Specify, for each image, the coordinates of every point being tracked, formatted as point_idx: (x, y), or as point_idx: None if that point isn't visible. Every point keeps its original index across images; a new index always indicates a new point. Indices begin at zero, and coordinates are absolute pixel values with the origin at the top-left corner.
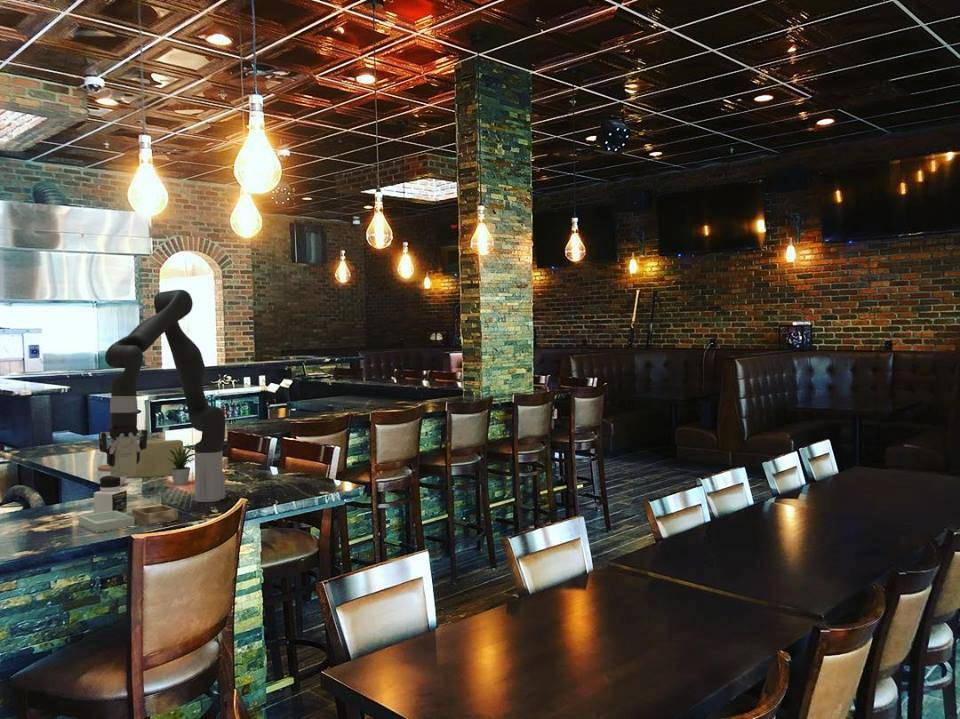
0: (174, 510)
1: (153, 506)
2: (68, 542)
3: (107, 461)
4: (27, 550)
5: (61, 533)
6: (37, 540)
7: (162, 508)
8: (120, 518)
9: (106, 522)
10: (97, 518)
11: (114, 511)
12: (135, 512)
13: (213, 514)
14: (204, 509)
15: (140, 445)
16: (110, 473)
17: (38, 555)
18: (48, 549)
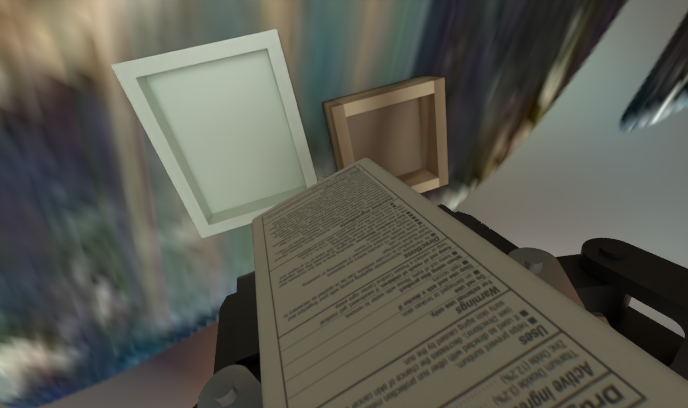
0: (438, 185)
1: (408, 91)
2: (132, 293)
3: (226, 323)
4: (21, 338)
5: (80, 175)
6: (10, 241)
7: (429, 97)
8: (285, 115)
9: (235, 227)
10: (200, 63)
11: (269, 50)
12: (336, 139)
13: (524, 136)
14: (544, 46)
15: (606, 295)
16: (252, 230)
17: (75, 381)
18: (88, 342)
